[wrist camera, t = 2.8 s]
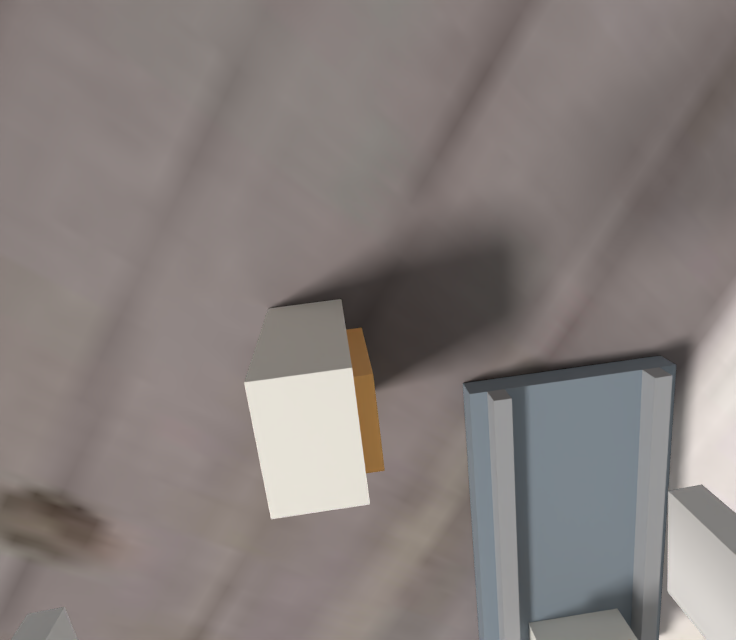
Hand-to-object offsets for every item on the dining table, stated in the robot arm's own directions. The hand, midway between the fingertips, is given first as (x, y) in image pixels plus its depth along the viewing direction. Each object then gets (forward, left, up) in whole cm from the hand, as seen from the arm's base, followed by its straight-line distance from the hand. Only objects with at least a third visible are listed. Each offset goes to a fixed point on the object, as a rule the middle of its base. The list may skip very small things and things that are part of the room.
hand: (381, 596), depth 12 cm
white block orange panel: (-1, -1, -19) cm, 19 cm away
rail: (+13, -15, -19) cm, 28 cm away
